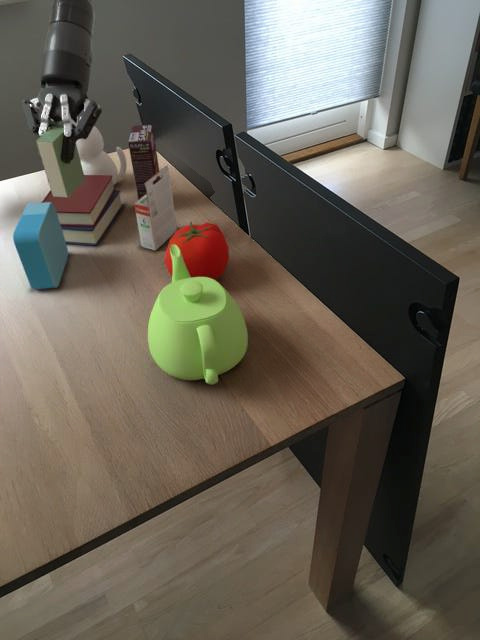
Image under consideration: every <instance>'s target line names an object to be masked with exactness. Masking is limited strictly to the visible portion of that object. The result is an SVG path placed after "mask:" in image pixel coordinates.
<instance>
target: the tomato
mask: <svg viewBox="0 0 480 640" xmlns="http://www.w3.org/2000/svg"><path fill="white" fill-rule="evenodd" d="M189 222H190V224H188V225H186V226H184V227H180V228H179V229H177V231H176V232H175V233H174V234H173V235H172V236H171V237H170V238H169V239H170V240H169V242H168V245H167V248H166V249H165V256H164V264H165V267H166V269H167V271H168V273H169V275H170V276H171V277H172V274H173V263H172V257H171V253H170V246H171V245H173V244H175V245H177V246H178V248H179V249H180V251H181V254H182V257H183V260H184V263H185V265H186V268H187V270H188V272H189V275H190V277H191V278H192V277H208V278H211V279H213V280H215V281H217V280H218V279H219V278H220V277H221V276H222V275H223V274H224V272H225V270H226V269H227V267H228V264H229V260H230V251H229V250H230V249H229V248H230V247H229V245H228V243H227V240H226V236H225V234H224V232H223V231H222V229H221V228H220V227H219V226H218V224H216V223H212V222H205V223H202V224H193V222H192V221H191V220H190V221H189Z"/></svg>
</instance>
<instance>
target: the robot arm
mask: <svg viewBox="0 0 480 640" xmlns="http://www.w3.org/2000/svg"><path fill="white" fill-rule="evenodd" d="M94 27H95V7H94V4H93V0H52V2H51V7H50V14H49V21H48V29H47V33H46V36H45V41H44V47H43V57H42V65H41V74H40V85H41V86H40V89H39V90H38V93H37V96H36V97H34V98H31V99H28V98H27V97H25V98H22V100H21V106H22V108H23V111H24V112H23V113H24V115H25V119H26V123H27V126H28V129H29V131H30V132H31V133H33V134H34V135H36V136H37V137H38V138H40V137H41V136H42V135H43V134H44V133H45V132H46V131H47V130H49V129H50V128H51V127H52V126H54V125H55V124H60V122H62V124H64V135H65V138H63V142H62V150H61V160H62V161H63V162H64V163H67V164H70V162H71V160H73V158H74V151H75V144H76V142H77V140H79V139H82V138H83V139H87V138H88V136H89V134H90V132H91V130H92V129H93V127H94V126H95V125H96V123H97V121H98V119H99V118H100V116H101V114H102V112H103V108H102V107H101V106H100V105H99V104H98V103H97V102H96V100H90V99H89V97H88V90H89V83H90V75H91V66H92V62H93V57H92V56H93V35H94ZM40 108H42V113H41V116H40V115H39V114H40V112H41V111H40V110H41V109H40ZM81 113H83V114H82V115H81V116H80V117H81V119H80V118H79V115H80V114H81ZM37 149H38V148H37ZM37 155H38V157H39V158H40V160H41V161H42V159H41V156H40V153H39V149H38V150H37Z"/></svg>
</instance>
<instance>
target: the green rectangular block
mask: <svg viewBox="0 0 480 640" xmlns="http://www.w3.org/2000/svg"><path fill="white" fill-rule="evenodd" d="M63 138H65V135H64V123H59V124H55V125H54V126H52V127H51V128H50V129H49V130H47V131H46V132H45V133H44V134H43V135H42V136H41V137H38V139H36V140H35V143H36V146H37V149H39V153H40V156H41V158H40V160H41V159H42V160H41V162H42V166H43V169H44V172H45V175H46V179H47V181H48V182H47V183H48V186H49V188H50V190H51V192H52V196H53V197H61V198H69V197H70V196H71V195H72V194H73V193H74V191H75V190H76V189H77V188H78V186H79V185H80V184H81V183H82V182H83V180H84V179H85V177H84V173H83V169H82V165H81V161H80V157H79V153H78V149H77V145H76V144H75V151H74V158H73V160H71V162H70V164H67V163H64V162H63V161H62V160H61V150H62V142H63ZM40 156H39V157H40Z"/></svg>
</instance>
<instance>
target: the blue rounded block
mask: <svg viewBox="0 0 480 640" xmlns="http://www.w3.org/2000/svg"><path fill="white" fill-rule="evenodd" d="M12 239H13V241H12V242H13V244H14V246H15V250H16V253H17V255H18V258H19V260H20V262H21V265H22V269H23V270H24V273H25V276H26V279H27V281H28V284H29V286H30V288H31V289H32V290H42V289H53V288H54V289H55V288H58V287H59V286H60V283H61V279H62V278H63V277H62V276H63V273H64V270H65V267H66V264H67V261H68V257H69V249H68V244H66V241H65V238H64V235H63V231H62V228H61V225H60V222H59V218H58V215H57V212H56V208H55V205H54V204H53V203H52V202H47V203H41V202H32V203H31V202H30V203H27V204H26V206H25V208H24V210H23V212H22V214H21V216H20V218H19V220H18V222H17V224H16V226H15V229H14V231H13V234H12Z"/></svg>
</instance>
